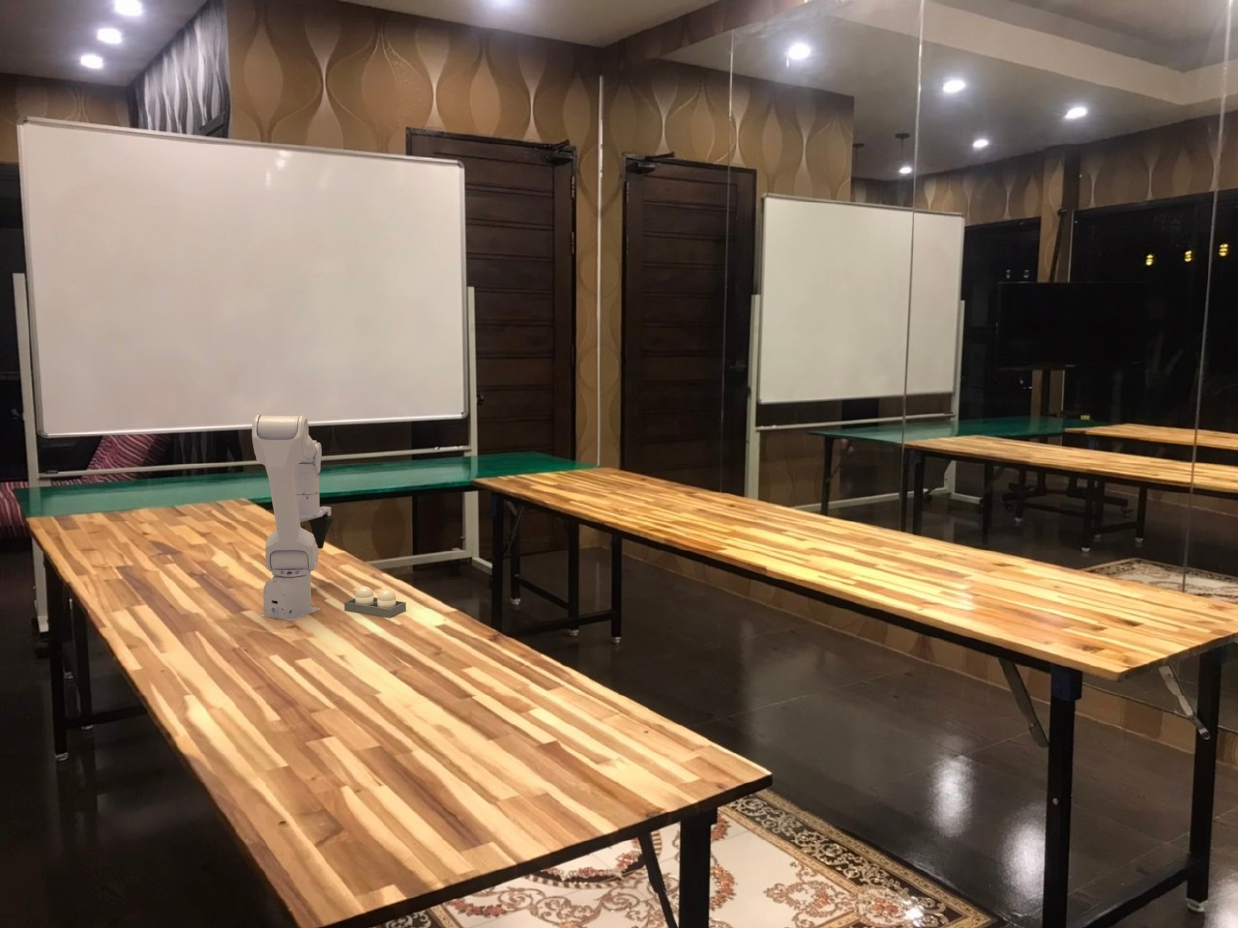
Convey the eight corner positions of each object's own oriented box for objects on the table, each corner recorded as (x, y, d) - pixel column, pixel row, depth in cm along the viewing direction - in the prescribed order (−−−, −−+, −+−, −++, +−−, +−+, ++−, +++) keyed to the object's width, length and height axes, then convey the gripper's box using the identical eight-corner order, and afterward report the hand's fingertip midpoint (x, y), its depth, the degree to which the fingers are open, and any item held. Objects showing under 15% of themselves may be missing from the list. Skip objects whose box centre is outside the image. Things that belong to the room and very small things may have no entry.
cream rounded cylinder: (387, 615, 197) (388, 593, 196) (373, 612, 198) (373, 590, 197) (399, 611, 200) (399, 589, 199) (384, 608, 202) (385, 586, 201)
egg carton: (389, 619, 195) (389, 609, 195) (344, 612, 200) (344, 602, 199) (405, 612, 201) (405, 602, 200) (361, 605, 205) (361, 595, 205)
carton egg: (366, 612, 199) (366, 589, 198) (351, 609, 200) (351, 587, 199) (377, 607, 202) (377, 585, 201) (362, 605, 204) (362, 583, 203)
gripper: (298, 499, 203) (299, 560, 205) (341, 489, 216) (342, 546, 218) (272, 496, 205) (274, 556, 207) (316, 487, 219) (317, 543, 221)
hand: (307, 551), depth 213 cm, fingers open, 7 cm apart
